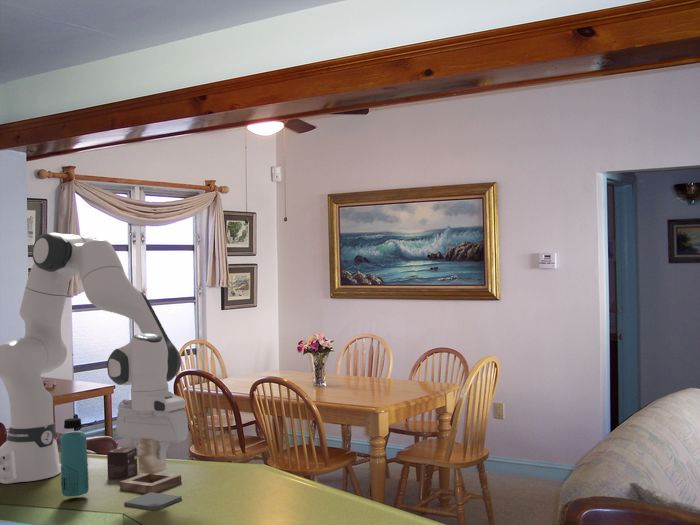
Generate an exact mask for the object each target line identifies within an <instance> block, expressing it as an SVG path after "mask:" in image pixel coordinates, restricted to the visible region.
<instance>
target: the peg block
mask: <svg viewBox="0 0 700 525" xmlns="http://www.w3.org/2000/svg"><path fill="white" fill-rule="evenodd" d="M160 448H161V446H160V445H159V441H154V440H146V439H138V450H137V458H138V473H139V474H144V473H146V474H155V473H158V472H159V473H162V472H163V471H167V458H166V459H163V460H158V459H157V455H156V452H159V451H160Z"/></svg>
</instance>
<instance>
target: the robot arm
mask: <svg viewBox="0 0 700 525" xmlns="http://www.w3.org/2000/svg"><path fill="white" fill-rule="evenodd" d="M31 255H32V259H33V260H32V261H33V264H32V266H31V268H30V271H29V274H28V277H27V280H26V285H25V288H24V291H23V296H22V300H21V305H20V308H19V315H20V317H21V319H22V320H23V321H24V326H25V327H24V328H25V333H24V337H22V338H14V339H11V340H8V341H5V342H3V343H1V344H0V379H1V381H2V382H3V384H4V387H5V389H6V392H7V396H8V399H9V409H10V410H9V411H10V427H9V428H5V429H4V431H6V432H4V434H7V436H6V441H5V442H4V443H3V444H2V445H1V446H0V483H1V484H5V485H8V484H14V483H24V482H26V483H27V482H33V481H34V482H35V481H41V480H45V479H49V478H53V477H55V476H57V475H59V474H61V462H60V455H59V449H58V442H57V440H56V439H55V436H56V430H57V428H56V423H55V422H54V403H53V402H54V401H53V399H54V398H53V396H52V393H51V392H49V391H48V390H47V389H46V387H45V385H44V382H43V379H42V378H43V377H42V375H43V374H47V373H52V372H53V371H54V370H56V369H58V368H59V367H61V366H62V365H63V364H64V363H65V361H66V359H67V356H68V350H67V346H66V344H65V342H64V341H63V339H62V331H61V330H62V319H63V318H62V317H63V314H64V308H65V303H66V299H67V295H68V290H69V284H70V281H71V279H72V277H74V276H80V279H81V284H82V288H83V292H84V294H85V296H86V298H87V300H88V301H89V302H90V303H91V304H92V305H93V306H94V307H95V308H97V309H100V310H102V311H105V312H110V313H113V314H118V315H120V316H123V317H126V318H128V319H130V320H131V321H133V322H135V324H136V325H137V327H138V328H139V331H140V333H138V334H135V335H133V336H132V337H131V338H130V341H129V342H128V343H127V344H125V345H123V346H122V347H118V348H115V349H114V350H113V351H112V352H111V353H110V355H109V357H108V358H107V362H106V363H107V364H106V365H107V366H106V367H107V369H106V370H107V374H108V377H109V378H110V380H111V381H112V382H113V383H114V384H116V385H118V386H131V388H130V394H131V395H130V399H122V400H121V401H120V402H119V404H118V407H117V410H118V411H117V414H116V425H115V430H116V431H115V433H116V435H117V437H118V438H119V439H130V440H131V439H132V440H133V444H134V446H135V447H134V448H137V451H138V439H146V440H154V441H159V445H160V446H161V448H160V451H159V452H156V455H157V459H158V460H163V459H166V460H167V451H168V449H169V446H170V444H171V443H174V444H178V443H181V442H184V441H186V440H187V438H188V436H189V422H188V413H187V412H186V411H185V408H186V405H187V402H186V399H184V398H183V397H182V396H178V395H176V394H175V393H173V392H172V391H169V390H170V388H169V384H168V382H170V381H172V380H173V379H174V378H175V377H176V376H177V374H178V373H179V371H180V368H181V365H182V358H181V355H180V351H179V350H178V349H177V347H176V346H175V345H174V343H173V342H172V341H171V339H170V338H169V336H168V335H167V333H166V331H165V329H164V327H163V325H162V323H161V322H160V319H159V318H158V315H157V314H156V312H155V310H154V308H153V306H152V305H151V303H150V301H149V299H148V297H147V296H146V295H145V294H144V293H143V292H141V291H140V290H138V289H137V288H136V287H135V286H134V284H133V283H132V282H131V281H130V280H129V278H128V277H127V274H126V273H125V269H124V267H123V265H122V261H121V259H120V258H119V256H118V253H117V252H116V250H115V248H114V247H113V245H112V243H110V242H109V241H107V240H106V239H102V238H97V237H96V238H92V237H89V236H86V235H83V234H82V235H80V234H68V233H58V232H46V233H42V234H40V235H39V236H38V237H37V238H36V239H35V242H34V243H33V245H32V250H31Z"/></svg>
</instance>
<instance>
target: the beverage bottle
mask: <svg viewBox="0 0 700 525" xmlns="http://www.w3.org/2000/svg"><path fill="white" fill-rule="evenodd" d="M63 423H64V424H63V428H64V430H65V429H67V430H72V431H67V432H64V433H63V434H62V435H61V436H60V437H59V442H60V464H61V473H60V474H61V476H60V484H61V485H60V487H61V494H62V495H63V497H68V498H69V497H77V496H82V495H86V494H87V493H88V492H89V487H90V485H89V479H90V477H89V463H88V449H87V448H88V447H87V434H86V433H84V431H82V430H73V429H79V428H82V419H81V418H79V417H71V418H66V419H65V420H64V422H63Z"/></svg>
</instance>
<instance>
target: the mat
mask: <svg viewBox="0 0 700 525" xmlns="http://www.w3.org/2000/svg"><path fill="white" fill-rule="evenodd" d="M182 500H183V499H182V496H180V495H176V494H175V495H174V494H166V493H159V492H156V493H153V492H150V493H144V494H142V495H140V496H136V497H135V498H132V499H129V500H127V501H124V503H123V505H124V507H131V508H137V509H143V510H150V511H158V510H160V509H163V508H166V507H168V506H170V505H173V504H175V503H178V502H179V501H182Z"/></svg>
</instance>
